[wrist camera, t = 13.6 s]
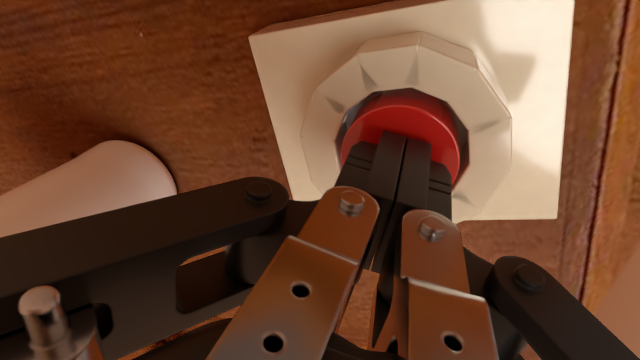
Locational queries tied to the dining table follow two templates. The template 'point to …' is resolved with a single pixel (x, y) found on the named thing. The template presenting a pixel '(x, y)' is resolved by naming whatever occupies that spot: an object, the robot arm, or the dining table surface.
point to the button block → (429, 92)
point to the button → (407, 124)
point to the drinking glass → (86, 187)
